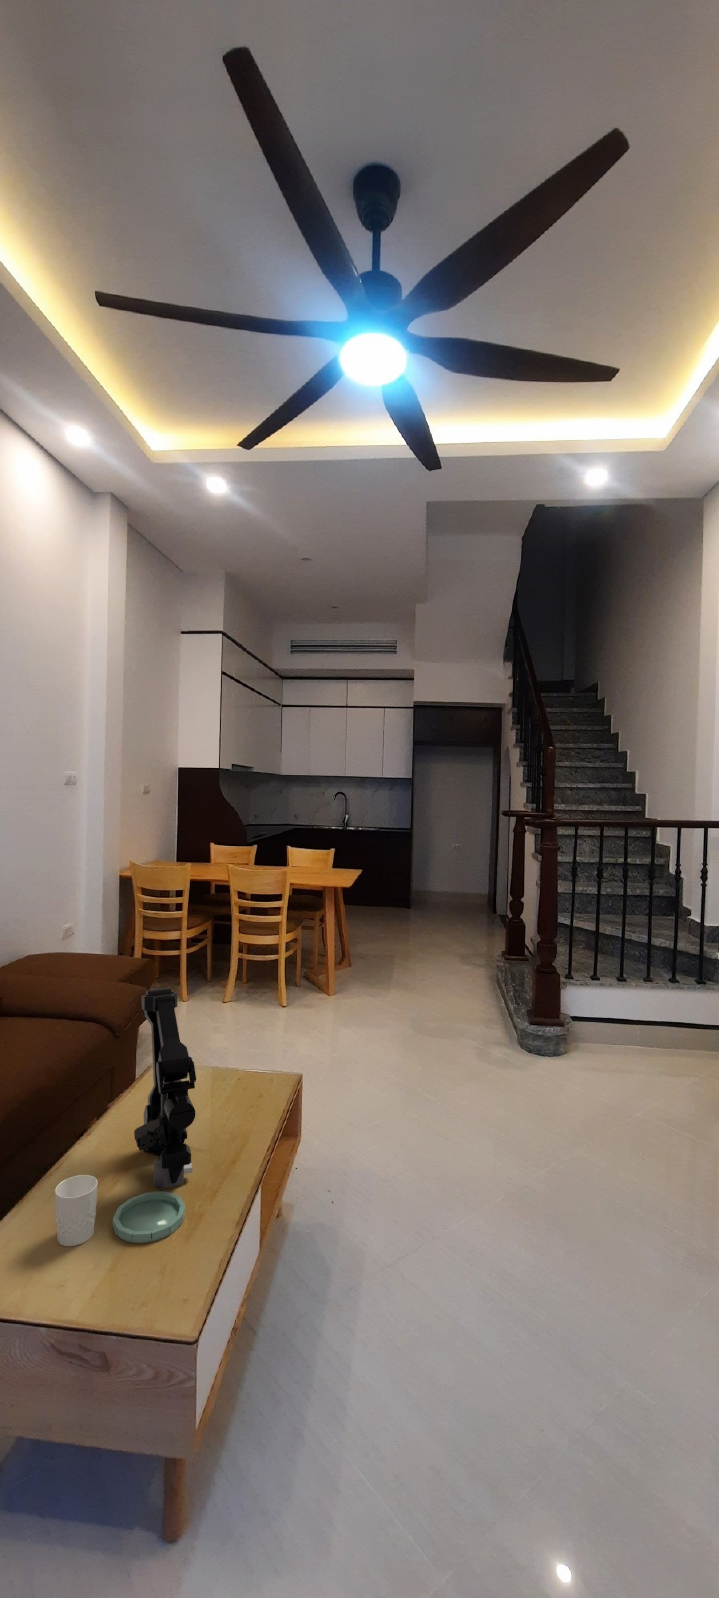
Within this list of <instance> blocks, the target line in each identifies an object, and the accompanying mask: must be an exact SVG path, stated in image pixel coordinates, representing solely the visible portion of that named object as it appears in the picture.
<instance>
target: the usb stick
mask: <svg viewBox="0 0 719 1598" xmlns="http://www.w3.org/2000/svg"><path fill="white" fill-rule="evenodd" d="M187 1174H193V1164H192V1162H191V1163H190V1164H189V1165H184V1167H183V1169H182V1171H181V1173H180V1175H179V1178H178V1180H177V1182H176V1183H173V1184H172V1183H171V1180H170V1174H169V1169H168V1168H166V1169H164V1168H162V1166H161V1156H159V1157H158V1158H155V1160H154V1161H153V1180H152V1181H153V1182H152V1183H153V1184H152V1185H153V1187H154V1188H156V1189H158V1190H159V1189H160V1190H161V1189H168V1188H172V1187H176V1186H177V1187H178V1186H182V1185H184V1184H185V1183H184V1182H185V1181H184V1180H185V1179H184V1178H185V1177H184V1176H185V1175H187Z"/></svg>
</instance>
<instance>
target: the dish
mask: <svg viewBox="0 0 719 1598" xmlns="http://www.w3.org/2000/svg"><path fill="white" fill-rule="evenodd" d="M185 1213H186V1203H185V1202H184V1201H183V1199H182V1198H181V1196H180V1195H179V1194H175V1193H172V1192H169V1191H164V1190H163V1191H148V1192H144V1193H141V1194H139V1195H136V1196H132V1197H131V1198H128V1199H127V1200H125V1202H124V1203H122V1204H121V1205H119V1206H118V1207H117V1209H116V1211H115V1213H114V1215H113V1218H112V1227H113V1231H114V1233H115V1235H116V1237H118V1238H119V1240H120V1239H121V1240H122V1241H124V1242H126V1243H131V1244H148V1243H152V1242H153V1243H154V1242H156V1241H159V1240H162V1239H164V1238H167V1237H168V1236H170V1235H171V1234H173V1233H174V1232H175V1231H177V1229H179V1228H180V1227H181V1226H182V1224H183V1222H184V1220H185Z"/></svg>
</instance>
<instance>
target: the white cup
mask: <svg viewBox="0 0 719 1598" xmlns="http://www.w3.org/2000/svg"><path fill="white" fill-rule="evenodd" d="M98 1183H99V1182H98V1179H97V1178H96V1177H95V1176H92V1175H89V1174H79V1175H74V1176H71V1177H68V1178H65V1179H63V1180H62V1181H61V1182H59V1184H57V1185H56V1187H55V1189H54V1195H55V1196H54V1199H55V1200H54V1201H55V1202H54V1203H55V1222H56V1234H57V1235H56V1236H57V1242H58V1244H60V1245H61V1246H63V1247H76V1246H80V1245H83V1244H85V1242H87V1241H88V1240H90V1239H91V1238H92V1237H93V1235H94V1232H95V1231H94V1230H95V1221H96V1213H97V1203H98V1202H97V1201H98V1186H99V1185H98Z"/></svg>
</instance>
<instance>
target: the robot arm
mask: <svg viewBox="0 0 719 1598" xmlns="http://www.w3.org/2000/svg"><path fill="white" fill-rule="evenodd" d="M176 1008H178V992H177V991H172V989H171V987H167V988H158V989H149V990H148V989H147V990H146V991H145V994H143V995H141V1010H143V1012H144V1017H145V1019H146V1020H147V1022H148V1023H149V1024H150V1027H151V1050H152V1052H151V1053H152V1075H153V1076H152V1077H153V1086H152V1088H151V1090H150V1093H149V1094H148V1096H147V1105H145V1106H144V1107H145V1108H144V1111H143V1124H142V1125H141V1126H139V1127H137V1128H136V1129H134V1133H133V1134H134V1140H135V1143H136V1147H137V1148H138V1150H139V1151H141V1152H142V1151H143V1152H146V1153H149V1154H152V1155H156V1156H158V1157H161V1166H162V1168H164V1169H166V1168H168V1169H169V1174H170V1180H171V1183H172V1184H173V1183H176V1182H177V1180H178V1178H179V1175H180V1173H181V1171H182V1169H183V1167H184V1165H189V1164H190V1163H192V1152H191V1147H190V1146H189V1145H188V1144H187V1143H185V1142H186V1141H185V1140H187V1139H188V1132H187V1128H189V1127H190V1126H191V1125H192V1124H193V1122H194V1121H195V1119H196V1113H197V1112H196V1109H195V1107H194V1104H193V1102H192V1100H191V1098H190V1096H189V1090H194V1089H196V1086H195V1085H196V1083H195V1082H197V1073H196V1068H195V1062H194V1061H193V1057H191V1056H190V1055H189V1051H188V1047H187V1046H186V1045H185V1044H184V1043H183V1042H181V1038H180V1033H179V1026H178V1022H177V1021H178V1020H177V1016H176V1015H177V1014H176V1010H175V1009H176ZM188 1077H189V1078H188ZM185 1079H186V1080H185ZM188 1079H189V1080H188Z"/></svg>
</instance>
